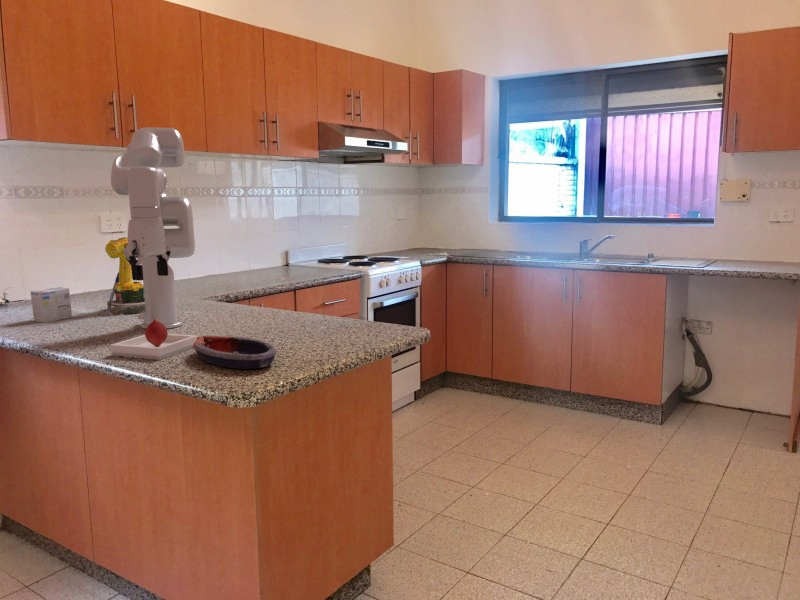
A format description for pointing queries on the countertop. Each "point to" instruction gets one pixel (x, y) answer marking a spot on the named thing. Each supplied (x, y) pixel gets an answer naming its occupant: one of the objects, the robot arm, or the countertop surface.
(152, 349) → the tray
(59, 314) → the light bulb box
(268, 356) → the dish
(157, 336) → the onion
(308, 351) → the countertop surface
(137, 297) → the cordless drill
